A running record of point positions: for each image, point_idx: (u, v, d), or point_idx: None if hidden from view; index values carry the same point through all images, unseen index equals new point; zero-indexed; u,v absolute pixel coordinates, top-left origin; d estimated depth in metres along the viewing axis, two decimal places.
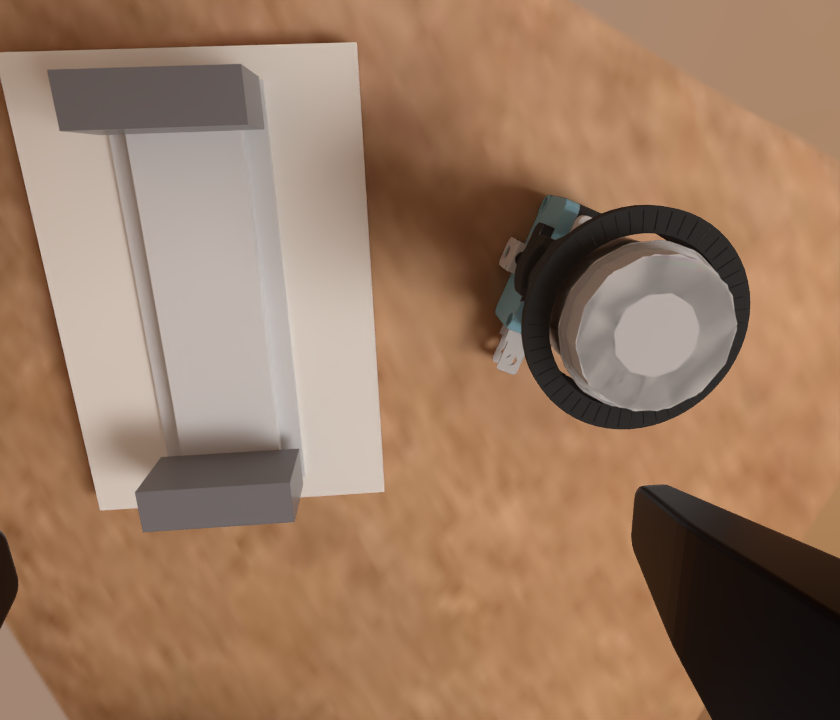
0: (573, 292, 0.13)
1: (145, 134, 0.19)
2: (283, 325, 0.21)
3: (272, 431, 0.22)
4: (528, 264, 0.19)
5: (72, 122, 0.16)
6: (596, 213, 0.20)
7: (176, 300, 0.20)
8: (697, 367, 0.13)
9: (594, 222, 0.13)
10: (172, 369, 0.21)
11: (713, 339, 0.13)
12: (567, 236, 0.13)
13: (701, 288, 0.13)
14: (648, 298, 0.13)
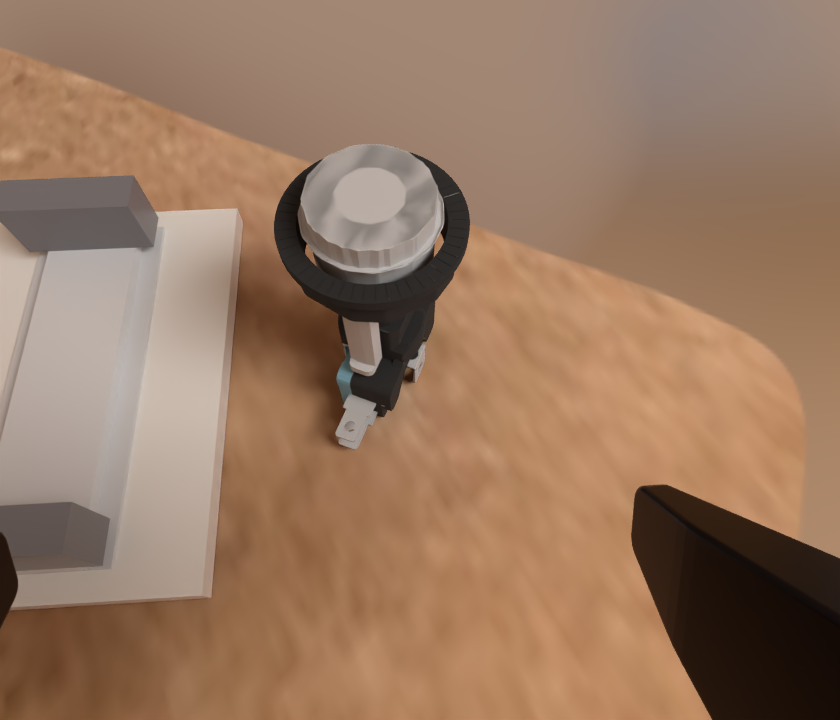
0: None
1: (63, 251, 0.25)
2: (132, 398, 0.23)
3: (86, 498, 0.20)
4: None
5: (2, 207, 0.22)
6: None
7: (38, 367, 0.22)
8: (410, 217, 0.15)
9: None
10: (8, 429, 0.21)
11: (419, 197, 0.16)
12: (312, 169, 0.18)
13: (402, 164, 0.16)
14: (359, 170, 0.16)
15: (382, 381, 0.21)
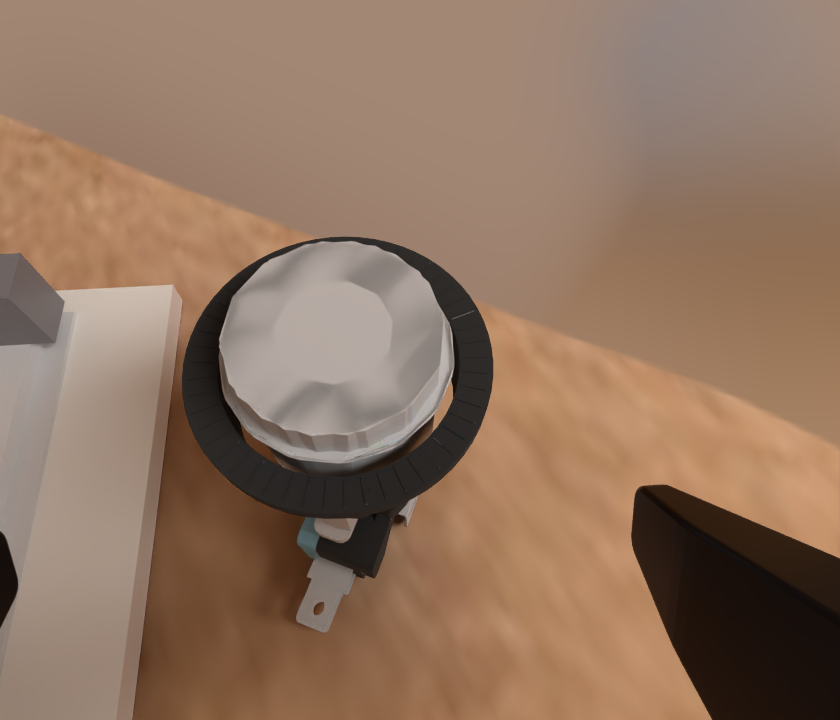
0: None
1: None
2: None
3: None
4: None
5: None
6: None
7: None
8: (399, 371, 0.09)
9: (275, 251, 0.11)
10: None
11: (415, 334, 0.10)
12: None
13: (386, 275, 0.10)
14: (317, 286, 0.10)
15: (361, 547, 0.15)
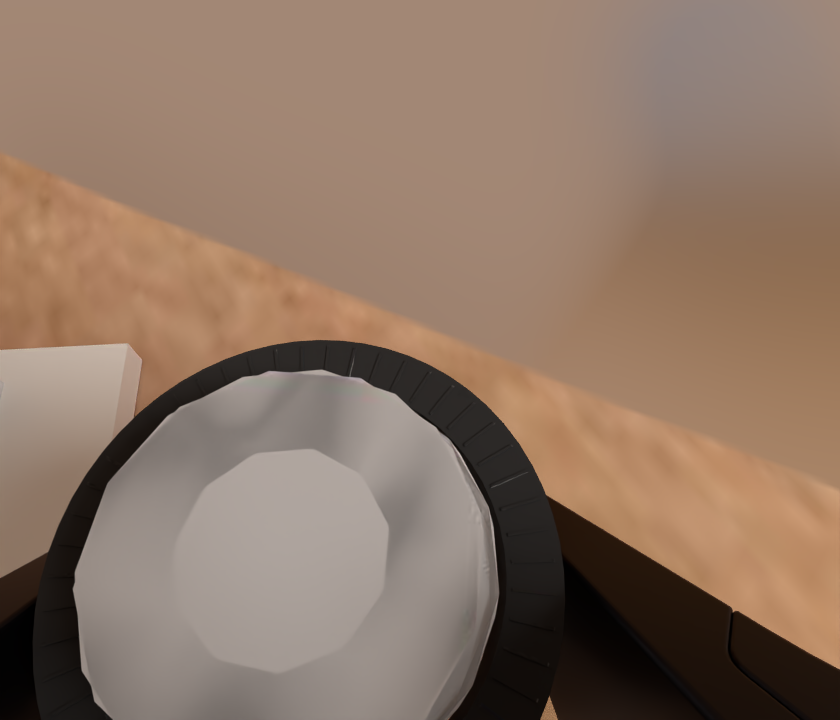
0: None
1: None
2: None
3: None
4: None
5: None
6: None
7: None
8: (401, 641, 0.05)
9: (207, 367, 0.07)
10: None
11: (429, 557, 0.05)
12: None
13: (378, 436, 0.06)
14: (257, 460, 0.06)
15: None
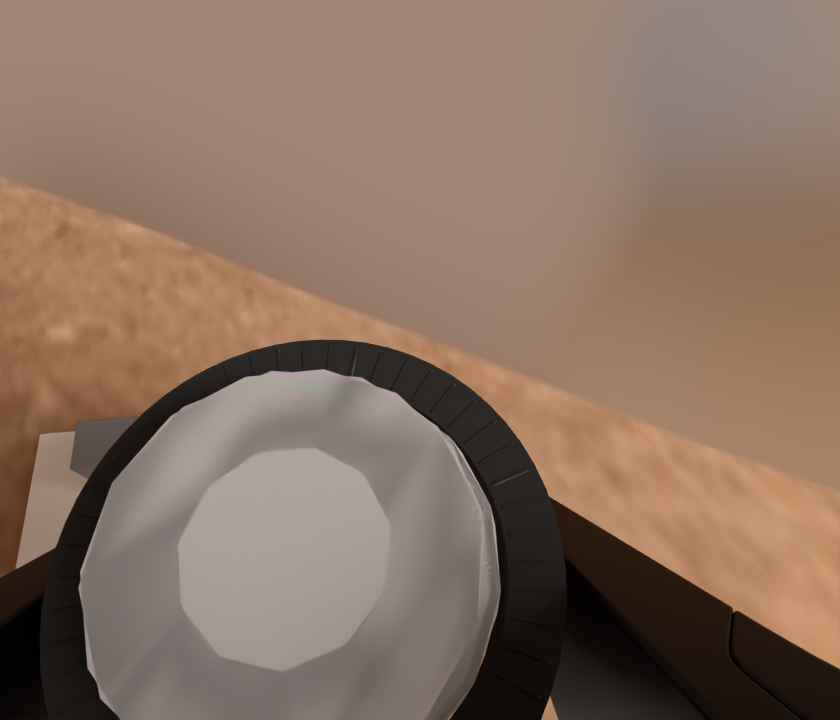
0: None
1: None
2: None
3: None
4: None
5: (83, 461, 0.18)
6: None
7: None
8: (404, 639, 0.05)
9: (210, 367, 0.07)
10: None
11: (430, 556, 0.05)
12: None
13: (379, 435, 0.06)
14: (260, 460, 0.06)
15: None
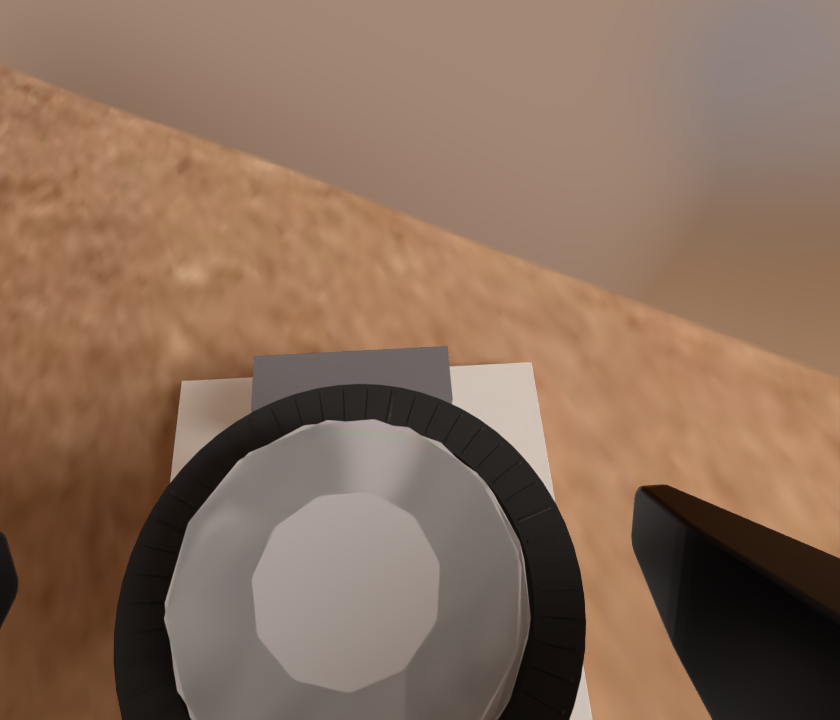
0: None
1: None
2: None
3: None
4: None
5: (266, 401, 0.15)
6: None
7: None
8: (454, 663, 0.06)
9: (259, 409, 0.08)
10: None
11: (475, 590, 0.06)
12: None
13: (426, 481, 0.07)
14: (321, 502, 0.06)
15: None
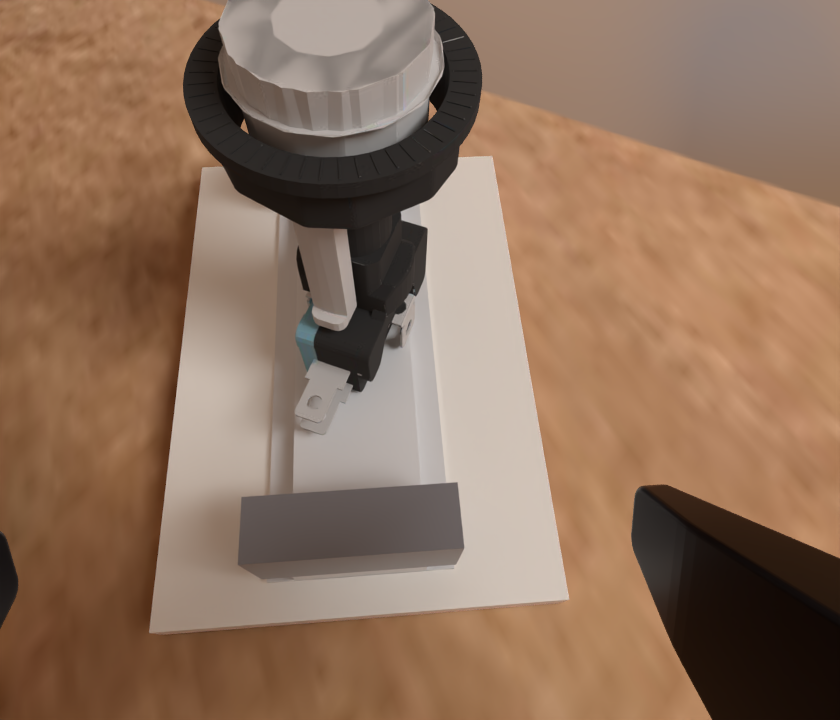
0: None
1: None
2: (428, 367, 0.19)
3: (415, 483, 0.17)
4: None
5: None
6: None
7: None
8: (391, 47, 0.10)
9: None
10: None
11: (406, 21, 0.10)
12: None
13: None
14: None
15: (357, 339, 0.16)
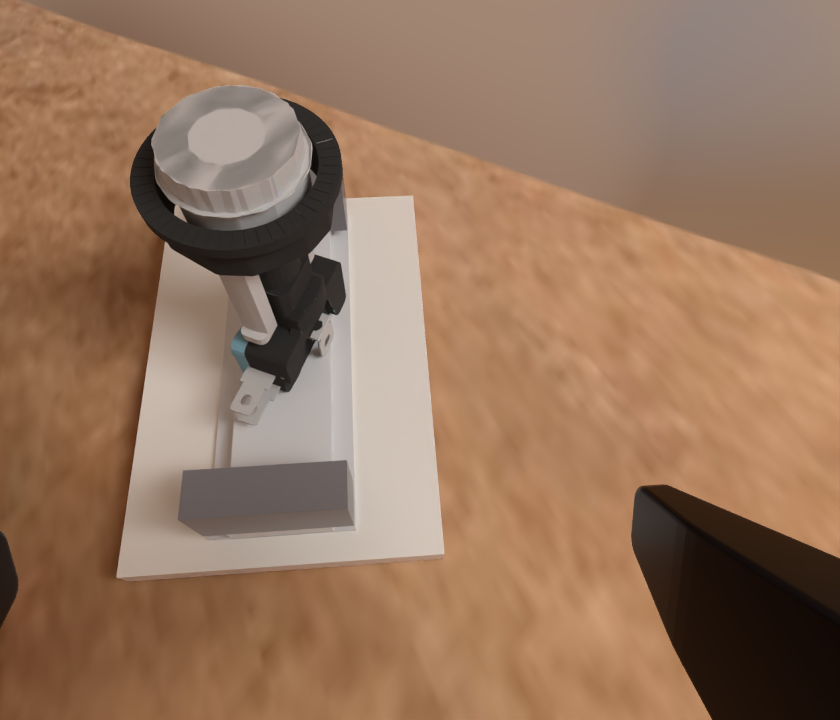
0: None
1: None
2: (346, 372, 0.24)
3: None
4: None
5: None
6: None
7: None
8: (267, 157, 0.14)
9: None
10: None
11: (280, 137, 0.15)
12: None
13: (265, 105, 0.15)
14: (218, 111, 0.15)
15: (278, 351, 0.20)
